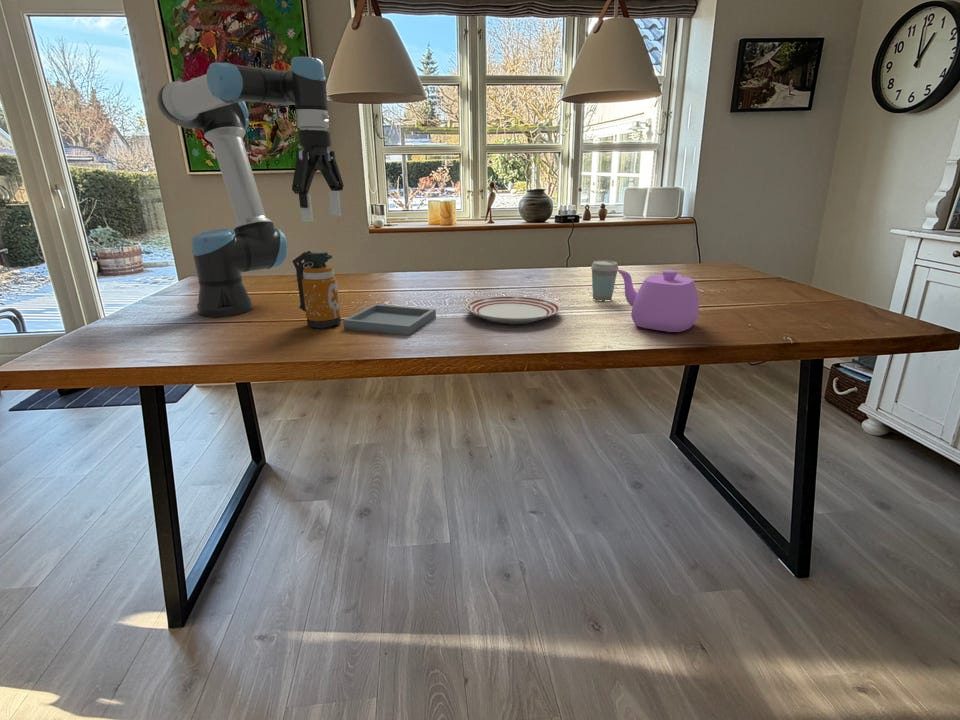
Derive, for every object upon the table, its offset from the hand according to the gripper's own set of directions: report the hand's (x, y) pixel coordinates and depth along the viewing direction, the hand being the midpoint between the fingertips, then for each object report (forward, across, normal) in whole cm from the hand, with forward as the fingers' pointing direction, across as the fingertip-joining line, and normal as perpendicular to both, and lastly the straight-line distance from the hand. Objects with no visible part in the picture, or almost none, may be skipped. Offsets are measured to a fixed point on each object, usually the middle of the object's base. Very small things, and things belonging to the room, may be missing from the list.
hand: (322, 218), depth 136 cm
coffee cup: (+27, +44, -72) cm, 89 cm away
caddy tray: (+28, +3, -17) cm, 33 cm away
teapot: (+27, +20, -88) cm, 95 cm away
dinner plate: (+28, +20, -48) cm, 58 cm away
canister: (+28, -3, +2) cm, 29 cm away
